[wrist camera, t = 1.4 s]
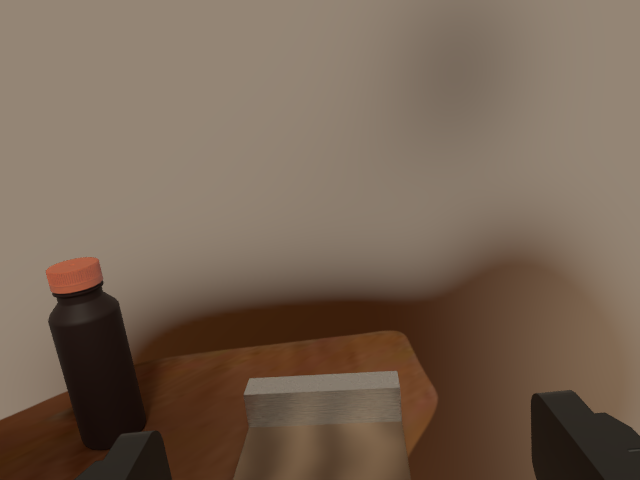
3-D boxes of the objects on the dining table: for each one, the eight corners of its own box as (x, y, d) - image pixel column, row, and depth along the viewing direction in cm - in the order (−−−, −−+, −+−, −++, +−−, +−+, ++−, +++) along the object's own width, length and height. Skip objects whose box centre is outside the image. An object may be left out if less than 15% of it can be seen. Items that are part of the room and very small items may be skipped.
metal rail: (249, 427, 50) (243, 394, 49) (254, 409, 53) (249, 378, 52) (401, 421, 49) (399, 387, 48) (398, 403, 52) (397, 370, 51)
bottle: (70, 453, 51) (18, 279, 45) (102, 413, 58) (60, 256, 52) (131, 451, 50) (86, 274, 45) (156, 410, 57) (119, 251, 51)
